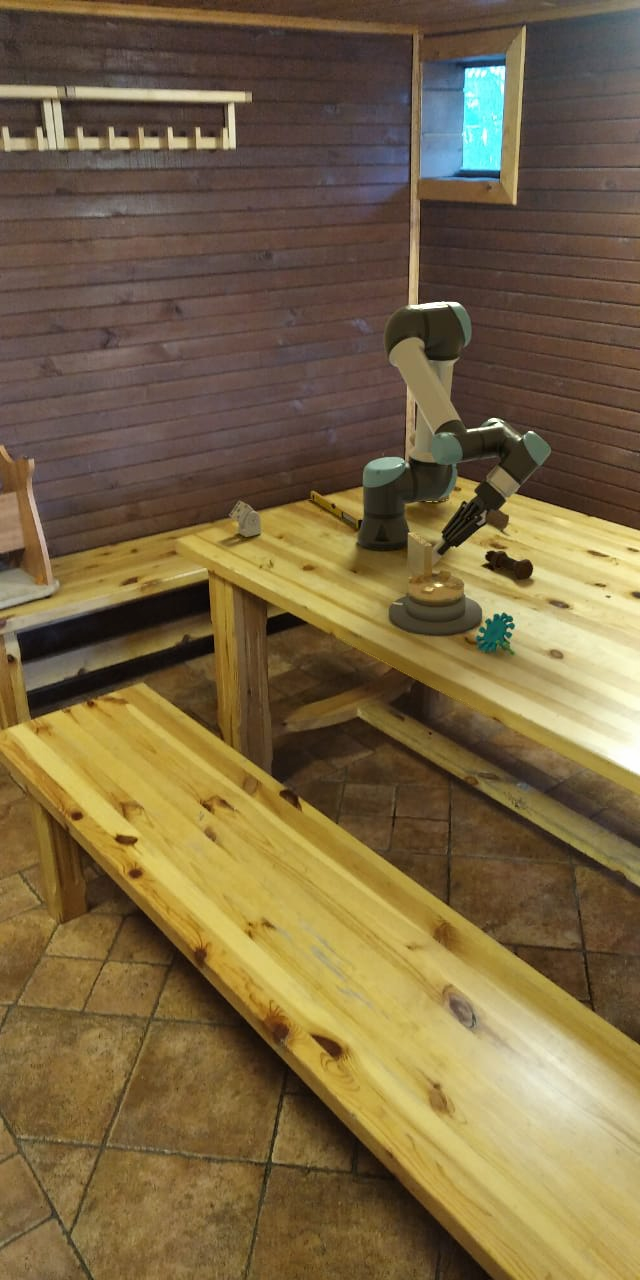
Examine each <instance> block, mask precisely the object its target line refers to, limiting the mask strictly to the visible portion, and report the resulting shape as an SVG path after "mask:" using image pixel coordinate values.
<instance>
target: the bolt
mask: <svg viewBox="0 0 640 1280" xmlns="http://www.w3.org/2000/svg"><path fill="white" fill-rule="evenodd" d="M484 559H485V560H486V561H487V562H489V563H491V565H492V567H493V568H494V567H495V568H494V569H497V568H500V569H504V570H507V571H508V572H511V573H513V575H514V577H515V579H516V580H518V581H524V580H528V579H530V578H531V576H532V574H533V572H534V564H533V563H532V562H531V560H530V559H528V558H525V559H521V560H516V559H514V558H512V557H509V556H508V554H507V552H506V551H504V550H498V551H495V550H488V551H486V554H485V555H484Z"/></svg>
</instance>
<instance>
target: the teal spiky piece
mask: <svg viewBox="0 0 640 1280" xmlns="http://www.w3.org/2000/svg"><path fill="white" fill-rule="evenodd" d="M492 616H493V617H492V618H493V619H492V620H491V618H487V619H486V620H484V623H485V625H486V628H485V627H484V626H483V625H481V626H480V627H479V628H478V632H479V633H480V634H483V635H482V636H481V635H479V634H477V635H476V637H475V641H476V642H477V644H476V646H477V649H479V650H482V652H484V653H486V654H487V653H488V652H489V650H490V651H491V652H494V653H495V652H497V650H498V646H499V647H501V649H502V650H503V651H504V652H508V653H510V654H511V655H515V651H514V650H513V649H512V648H511V642H510V641H509V640H510V639H511V638H512V636H513V633H512V632H510V631H508V629H509V630H515V627H516V624H515V623H514V622H513V621H514V617H513V616H512V615H509V614H507V613H506V612H502V613H501V615H500V614H499V613H494V614H493V615H492ZM508 639H509V640H508Z"/></svg>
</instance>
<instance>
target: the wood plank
mask: <svg viewBox="0 0 640 1280" xmlns="http://www.w3.org/2000/svg"><path fill="white" fill-rule="evenodd" d="M485 520H486V521H487V522H489V523H491V524H493V525H494V527H496V528H498V530H499V531H500V532H502V533H504V530H505V529H506V528H507V526H508V523H509V521H510V515H509V514H507V513H504V512H503V511H501V509H499V510H498V511H494V510H493V509H491V511H490V512H489V514H488V515H487V516H486V517H485Z"/></svg>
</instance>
